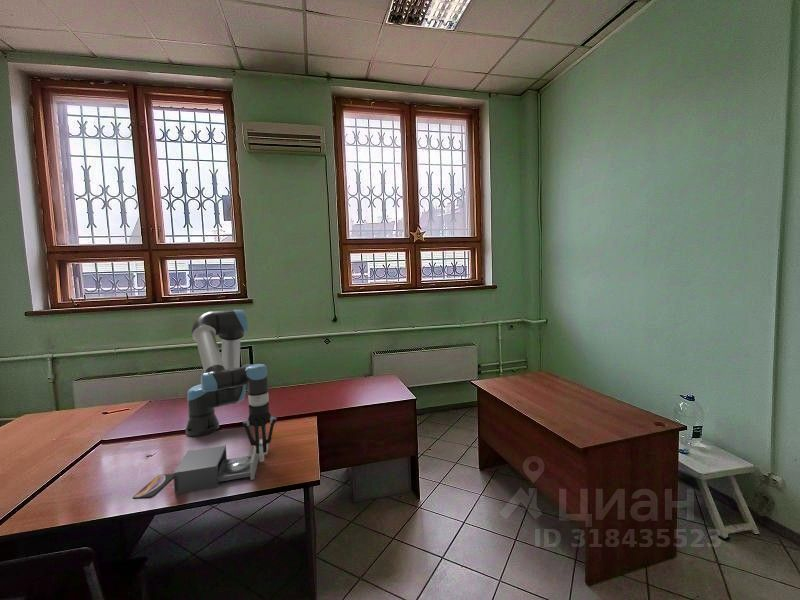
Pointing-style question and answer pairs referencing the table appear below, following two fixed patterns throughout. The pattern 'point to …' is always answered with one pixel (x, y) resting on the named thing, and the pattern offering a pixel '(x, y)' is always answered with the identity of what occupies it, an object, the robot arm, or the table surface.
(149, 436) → the table surface
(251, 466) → the tray
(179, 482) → the housing
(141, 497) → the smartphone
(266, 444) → the pedestal
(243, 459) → the disc
